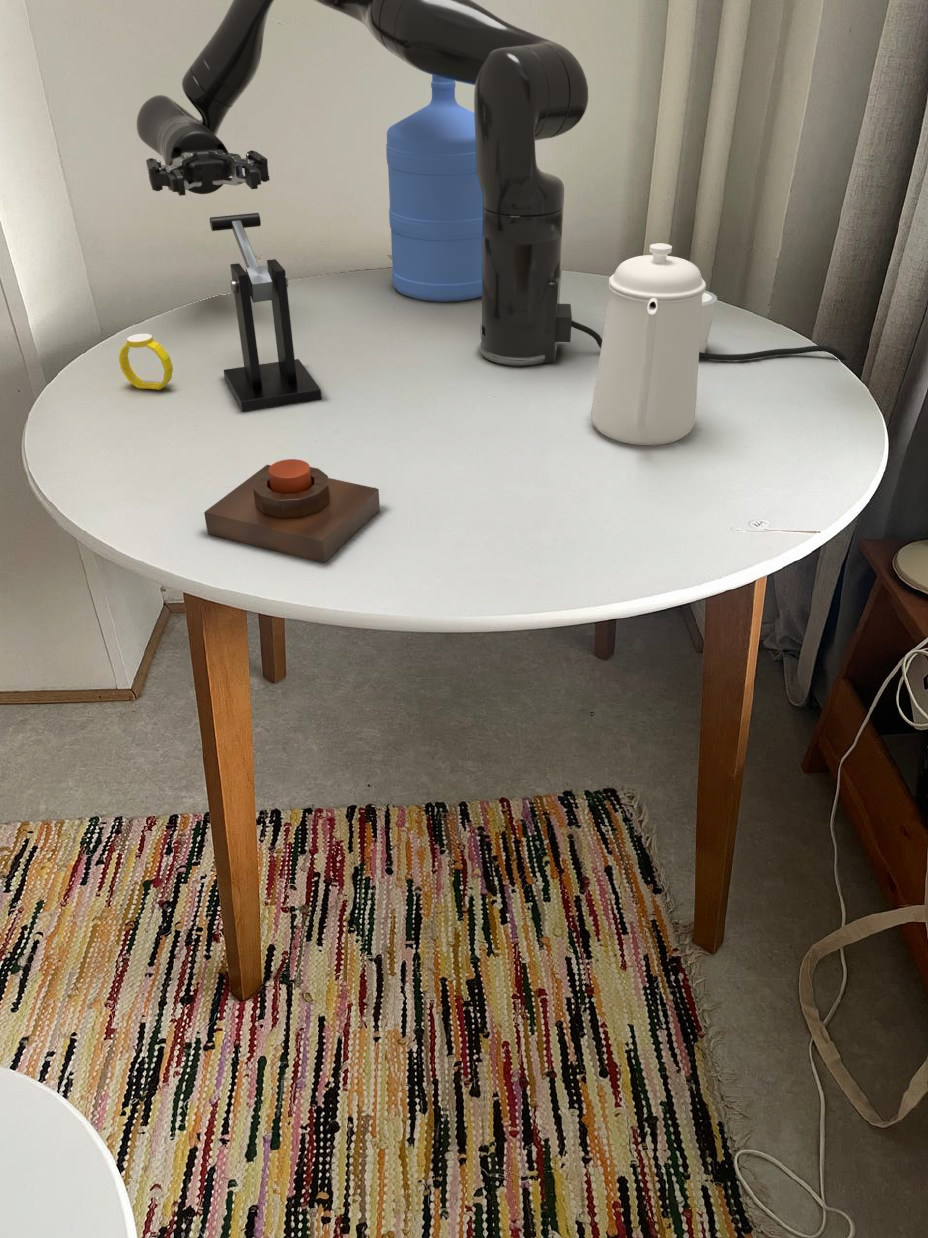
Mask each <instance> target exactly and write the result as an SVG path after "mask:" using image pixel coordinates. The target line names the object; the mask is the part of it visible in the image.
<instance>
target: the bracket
mask: <svg viewBox="0 0 928 1238" xmlns="http://www.w3.org/2000/svg"><path fill="white" fill-rule="evenodd" d="M266 264H267V265H266V267H267V270H268V272H269V275H270V277H271V280H272V283H273V300H270V301H271V308H272V310H271V311H272V317H273V325H274V326H273V327H274V335H275V344H276V351H277V360H278V361H274V362H268V363H261V364H260V361H259V360H260V359H259V353H258V352H259V351H258V344H257V337H256V329H255V321H254V315H253V314H254V313H253V306H252V298H251V296H250V289H249V281H248V274H247V273H246V269H244V267H243V266H242V265H241V264H240V263H239V262H238V263H230V271H231V272H230V274H231V280H230V282H229V283H230V289H231V293H232V295H233V296H234V302H235V309H236V317H237V324H238V332H239V338H240V345H241V347H240V348H241V354H242V361H243V366H240V367H232V368H225V369H223V377H224V380H225V382H226V384H227V386H228V388H229V390H230V392H231V393H232V395H233V397H234V399H235V401H236V402H237V404H238V406H239V409H240V410H241V412H249V411H256V410H262V409H268V408H274V407H281V406H288V405H293V404H294V405H295V404H299V403H306V402H313V401H318V400H322V389H321V387H320V386H319V385H318V383H317V382H316V381H315V380H314V378H313V377H312V375H311V374H310V373H309V371H308V369H307V368H306V367H305V366H304V364H303V363H302V362H301V361H300V359H299V358H296V359H295V350H294V340H293V331H292V322H291V321H292V320H291V313H290V304H289V303H290V302H289V294H288V293H289V292H288V288H289V279H288V276H287V274H286V269H284V267H283V266H282V265H281V263H280V262H278V260H277V259H275V258H273V259H267V260H266Z"/></svg>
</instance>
